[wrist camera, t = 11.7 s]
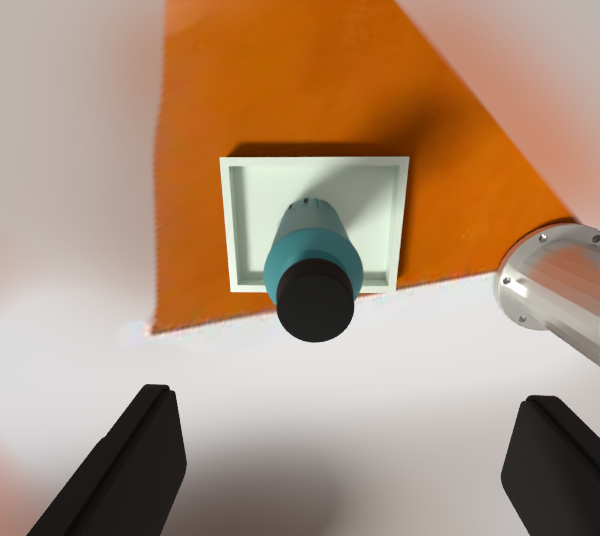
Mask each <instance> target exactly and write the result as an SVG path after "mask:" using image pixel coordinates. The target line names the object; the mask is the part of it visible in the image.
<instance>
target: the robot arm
mask: <svg viewBox="0 0 600 536" xmlns="http://www.w3.org/2000/svg"><path fill="white" fill-rule="evenodd" d="M494 292H495V298H496V301H497V303H498V305H499V307H500V309H501V310H502V311H503V313H504V314H505V315H506V316H507V317H509V318H510V319H511V320H512V321H514V322H515V323H517V324H518V325H520V326H523V327H525V328H528V329H534V330H550V331H551V332H552V333H554V334H555V335H557V336H558V337H559V338H561V339H562V340H564V341H565V342H566V343H568V344H569V345H571V346H572V347H573V348H575V349H576V350H577V351H579V352H580V353H582V354H583V355H584V356H586V357H587V358H588V359H590V360H591V361H593V362H594V363H596V364H597V365H599V366H600V231H599V230H597V229H595V228H592V227H589V226H586V225H581V224H576V223H558V224H552V225H548V226H545V227H542V228H540V229H537V230H535V231H533V232H532V233H530V234H528V235H526V236H525V237H524V238H522V239H521V240H520V241H518V242H517V243H516V244H515V245H514V246H513V247H512V248H511V249H510V250H509V251H508V253H507V254H506V256H505V257H504V258H503V260H502V262H501V264H500V266H499V268H498V270H497V273H496V277H495V284H494ZM186 466H187V461H186V455H185V449H184V442H183V436H182V430H181V425H180V418H179V413H178V406H177V400H176V394H175V392H174V391H172V390H170V388H169V386H168V385H155V384H154V385H153V384H146V385H144V386H143V388H142V389H141V390H140V391H139V392H138V394H137V395H136V396H135V398H134V399H133V400H132V402H131V403H130V404H129V406H128V407H127V408H126V410H125V411H124V412H123V414H122V415H121V416H120V418H119V419H118V420H117V422H116V423H115V424H114V426H113V427H112V428H111V430H110V431H109V432H108V433H107V435H106V436H105V437H104V438H102V439H101V440H100V441H99V442H98V443H97V444H96V446H95V447H94V448H93V449H92V451H91V452H90V453H89V455H88V456H87V457H86V459H85V460H84V461H83V463H82V464H81V465H80V466H79V468H78V469H77V470H76V472H75V473H74V474H73V476H72V477H71V478H70V479H69V481H68V482H67V483H66V485H65V486H64V487H63V489H62V490H61V491H60V492H59V494H58V495H57V497H56V498H55V499H54V500H53V502H52V503H51V504H50V506H49V507H48V508H47V510H46V511H45V512H44V513H43V515H42V516H41V517H40V519H39V520H38V521H37V523H36V524H35V525H34V527H33V528H32V529H31V530H30V532H29V533H28V534H27V536H160V534H161V532H162V529H163V527H164V524H165V522H166V520H167V517H168V514H169V512H170V510H171V507H172V505H173V503H174V500H175V497H176V495H177V493H178V490H179V488H180V486H181V483H182V481H183V478H184V475H185V472H186ZM501 482H502V485H503V488H504V490H505V492H506V494H507V496H508V497H509V499H510V501H511V503H512V505H513V506H514V508H515V510H516V512H517V513H518V515H519V517H520V519H521V520H522V522H523V524H524V526H525V527H526V529H527V531H528V533H529V534H530V536H600V438H599V437H598V436H597V435H596V434H595V433H594V432H593V431H592V430H591V429H590V428H589V427H588V426H587V425H586V424H585V423H584V422H583V421H582V420H581V419H580V418H579V417H578V416H577V415H576V414H575V413H574V412H573V411H572V410H571V409H570V408H568V406H567V405H566V404H565V403H564V402H563V401H562V400H560V399H559V398H558V397H555V396H540V395H531V396H528V397H527V399H526V401H523V402H521V404H520V408H519V411H518V415H517V418H516V422H515V426H514V429H513V433H512V436H511V440H510V443H509V447H508V451H507V454H506V458H505V462H504V465H503V469H502V472H501Z"/></svg>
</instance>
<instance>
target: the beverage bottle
mask: <svg viewBox="0 0 600 536" xmlns="http://www.w3.org/2000/svg"><path fill="white" fill-rule="evenodd" d="M302 198H303V197H302ZM302 198H301V200H299V199H298V201H296V202H294V203H292V204H291V205H289V207H288V208H287V210H286V209H285V210H286V211H285V213H284V215H283V217H282V219H281V222H278V224H279V223H280V225H279V227H278V228H277V229H278V230H277V233H276V235H275V238H274V240H273V243H272V247H271V249H270V252H269V254H268V255H267V258H266V262H265V265H264V284H265V287H266V290H267V293H268V295H269V297H270V298H271V300H272V301H273V303H274V304H275V305H276V306H277V315H278V318H279V320H280V322H281V324H282V326H283V327H284V328H285V329H286V331H287V332H289V333H290V334H291V335H292V336H294V337H296V338H298V339H300V340H303V341H306V342H324V341H328V340H330V339H333V338H335V337H337V336H338V335H339V334H341V333H342V332H343V331H344V330H345V329H346V328H347V327H348V325H349V324H350V322H351V320H352V317H353V313H354V301H355V300H356V298H357V296H358V295H359V293H360V290H361V287H362V283H363V276H364V274H363V265H362V261H361V258H360V256H359V254H358V252H357V250H356V249H355V247H354V246H353V245H352V243H351V241H350V239H349V237H348V236H349V235H347V234H348V233H347V234H346V232H347V231H346V232H345V230H346V229H344V228H345V227H344V226H343V225H342V222H341V220H340V218H339V216H338V214H337V212H336V210H335V208H333V207H334V206H333V207H332V206H331V205H330V204H328V203H327V201H326V202H325V200H324V201H323V200H320V199H317V197H316V198H303V199H302ZM321 199H322V198H321ZM277 226H278V225H277ZM273 236H274V235H273ZM268 250H269V249H268Z"/></svg>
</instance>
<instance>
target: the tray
mask: <svg viewBox="0 0 600 536" xmlns="http://www.w3.org/2000/svg"><path fill="white" fill-rule="evenodd" d="M408 166H409V157H223V158H220V168H221V180H222V192H223V204H224V216H225V228H226V239H227V251H228V263H229V275H230V287H231V292H267V290H266V287H265V284H264V265H265V262H266V258H267V255H268V254H269V252H270V249H271V247H272V243H273V240H274V238H275V235H276V233H277V230H278V229H277V228H278V227H279V225H280V223H279V224H278V222H281V219H282V217H283V215H284V213H285V211H286V210H287V208H288V207H289V205H291V204H292V203H294V202H296V201H298V199H299V200H301V198H302V197H303V198H316V197H317V199H320V200H323V201H324V200H325V202H326V201H327V203H328V204H330V205H331V206H332V207H333V206H334V207H333V208H335V210H336V212H337V214H338V216H339V218H340V220H341V222H342V225H343V226H344V227H345V228H344V229H346V230H345V232H346V231H347V232H346V234H347V233H348V234H347V235H349V236H348V237H349V239H350V241H351V243H352V245H353V246H354V247H355V249H356V250H357V252H358V254H359V256H360V258H361V261H362V265H363V274H364V276H363V283H362V287H361V290H360V293H395V291H396V281H397V272H398V262H399V252H400V243H401V233H402V224H403V214H404V204H405V195H406V185H407V175H408ZM303 198H302V199H303ZM321 198H322V199H321ZM285 209H286V210H285ZM277 225H278V226H277ZM273 235H274V236H273ZM268 249H269V250H268Z"/></svg>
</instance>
